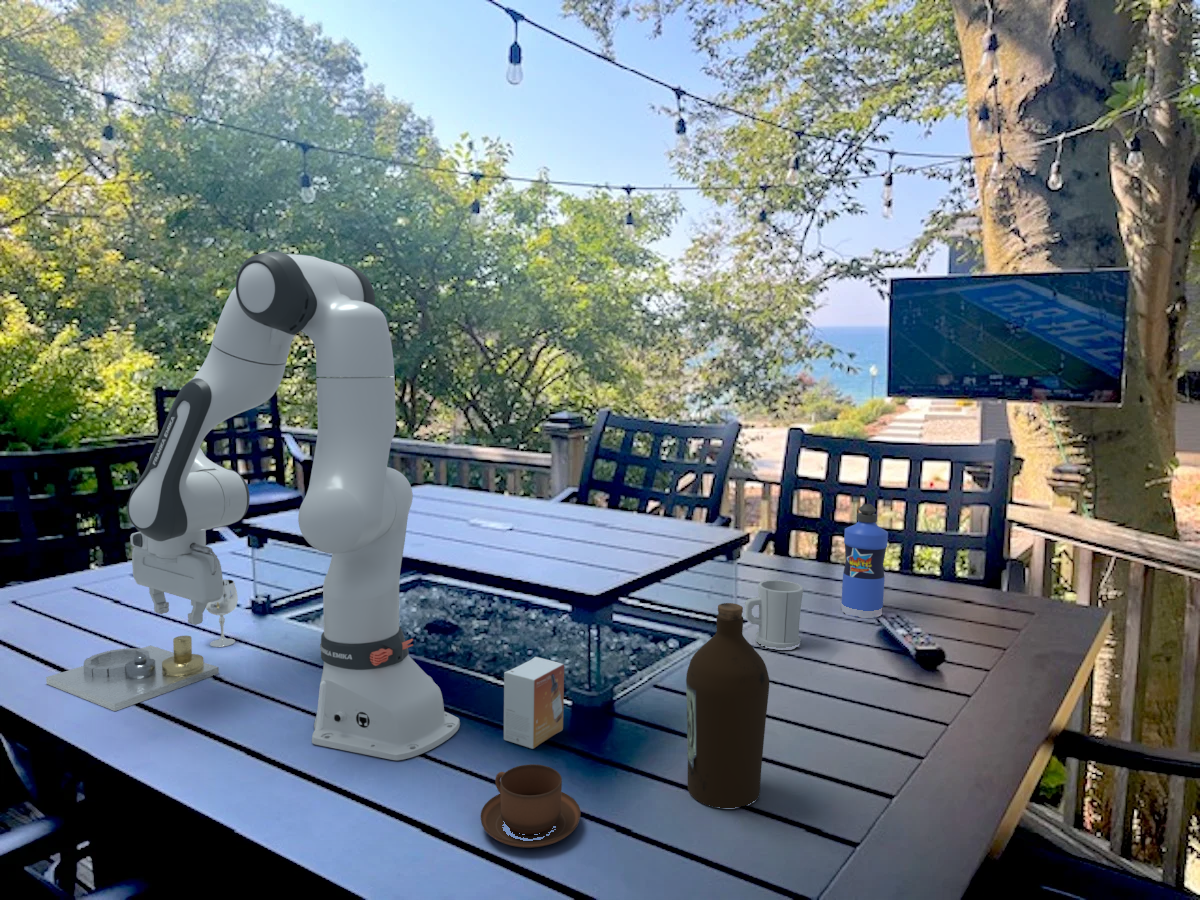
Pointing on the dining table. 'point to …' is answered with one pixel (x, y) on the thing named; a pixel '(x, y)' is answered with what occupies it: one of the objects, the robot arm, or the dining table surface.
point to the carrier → (124, 677)
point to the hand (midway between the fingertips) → (178, 618)
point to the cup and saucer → (530, 807)
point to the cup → (777, 613)
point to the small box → (533, 702)
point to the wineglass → (224, 610)
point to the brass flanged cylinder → (182, 659)
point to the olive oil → (726, 715)
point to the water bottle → (864, 562)
